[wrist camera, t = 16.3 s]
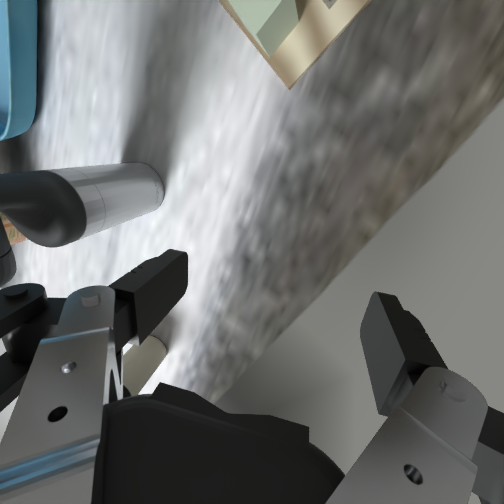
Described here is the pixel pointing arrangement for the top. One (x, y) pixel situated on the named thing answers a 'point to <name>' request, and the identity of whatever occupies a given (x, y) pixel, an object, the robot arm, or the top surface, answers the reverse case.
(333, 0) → the metal collar
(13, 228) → the fruit juice
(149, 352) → the travel mug
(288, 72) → the wooden board
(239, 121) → the top surface
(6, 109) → the casserole dish
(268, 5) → the sage pillars
